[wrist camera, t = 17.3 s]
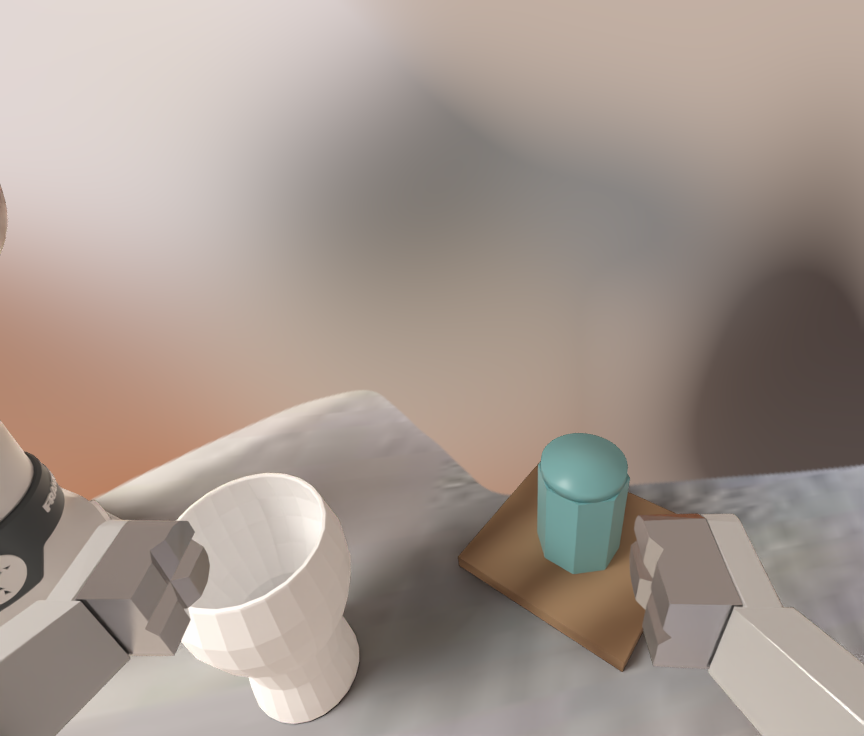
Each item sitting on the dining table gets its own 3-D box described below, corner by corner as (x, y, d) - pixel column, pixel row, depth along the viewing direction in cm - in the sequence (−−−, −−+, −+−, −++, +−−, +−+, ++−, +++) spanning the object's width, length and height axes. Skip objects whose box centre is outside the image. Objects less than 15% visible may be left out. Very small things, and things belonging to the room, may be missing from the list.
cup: (409, 660, 38) (374, 525, 29) (282, 791, 32) (193, 672, 24) (324, 572, 45) (276, 442, 36) (207, 669, 39) (116, 541, 30)
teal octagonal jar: (525, 546, 43) (525, 469, 38) (562, 499, 47) (566, 423, 42) (594, 586, 40) (604, 507, 35) (628, 532, 43) (641, 453, 38)
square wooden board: (459, 565, 44) (453, 525, 41) (545, 463, 52) (546, 424, 49) (622, 672, 36) (630, 631, 33) (694, 532, 44) (705, 489, 41)
